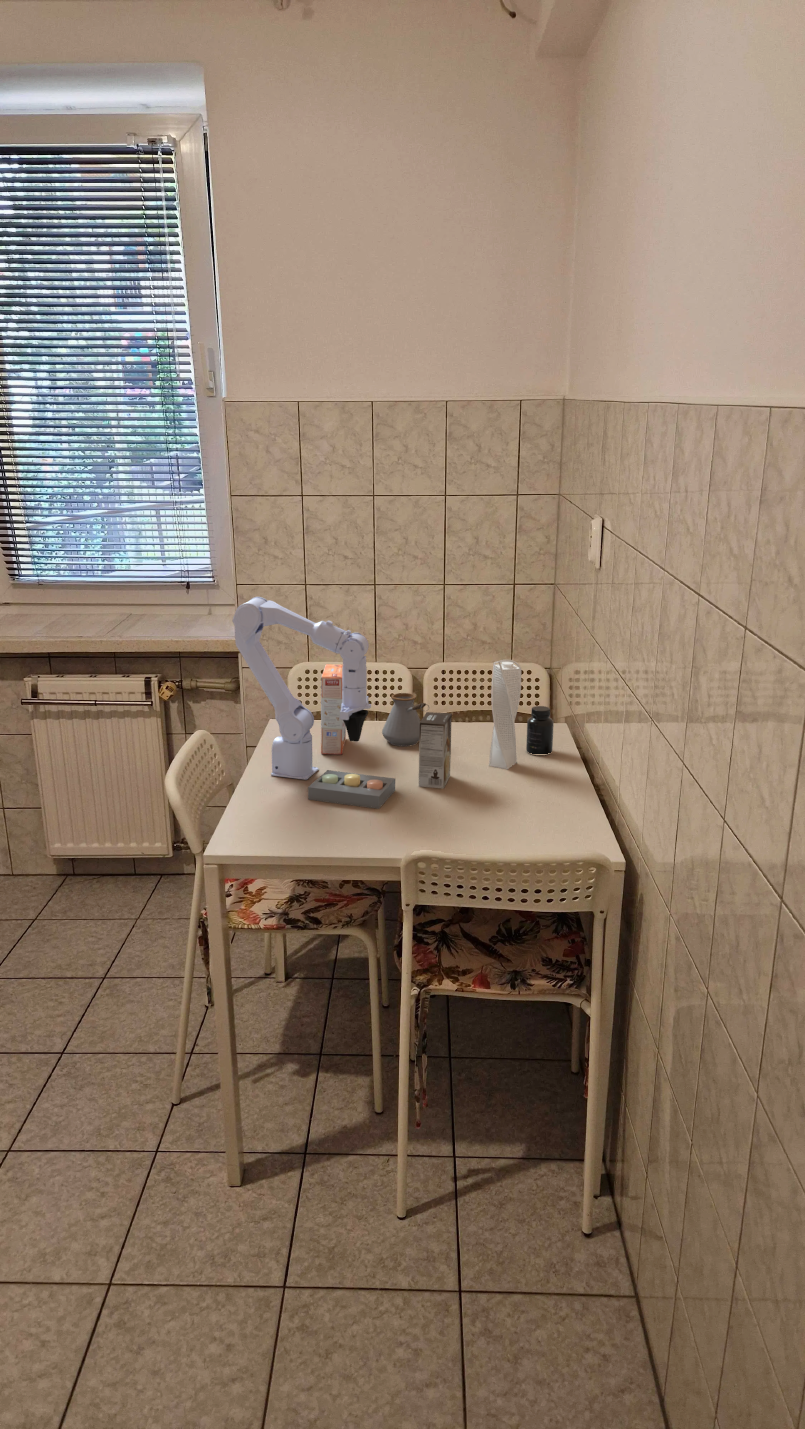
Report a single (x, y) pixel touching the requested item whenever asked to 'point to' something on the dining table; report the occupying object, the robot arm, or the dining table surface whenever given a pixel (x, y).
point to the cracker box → (332, 710)
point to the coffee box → (435, 749)
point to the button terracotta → (375, 784)
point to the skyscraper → (504, 712)
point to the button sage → (330, 778)
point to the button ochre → (352, 780)
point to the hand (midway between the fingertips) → (354, 740)
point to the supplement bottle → (540, 731)
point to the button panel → (351, 791)
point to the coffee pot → (403, 721)
